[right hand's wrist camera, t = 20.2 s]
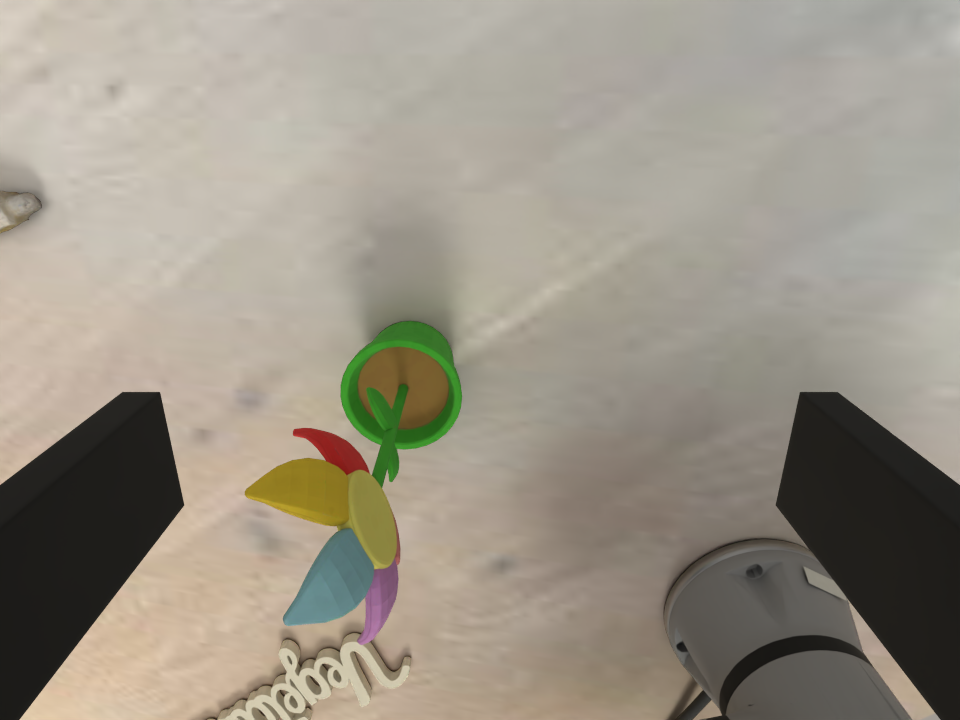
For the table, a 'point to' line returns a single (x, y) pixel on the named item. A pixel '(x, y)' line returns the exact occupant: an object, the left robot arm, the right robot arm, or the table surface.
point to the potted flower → (365, 473)
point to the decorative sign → (302, 688)
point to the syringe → (16, 208)
